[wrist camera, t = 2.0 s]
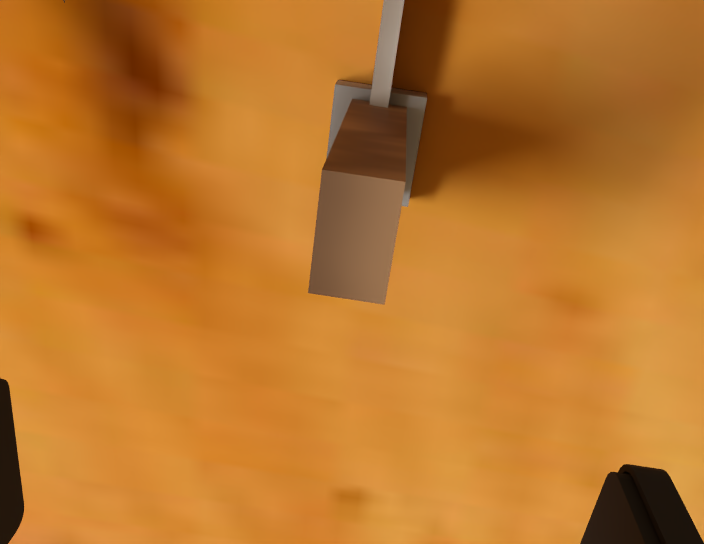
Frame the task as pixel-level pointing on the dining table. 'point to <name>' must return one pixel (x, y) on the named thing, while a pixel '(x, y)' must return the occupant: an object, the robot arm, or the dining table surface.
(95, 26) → the dining table surface
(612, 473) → the robot arm
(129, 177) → the dining table surface
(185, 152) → the dining table surface
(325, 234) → the scraper
